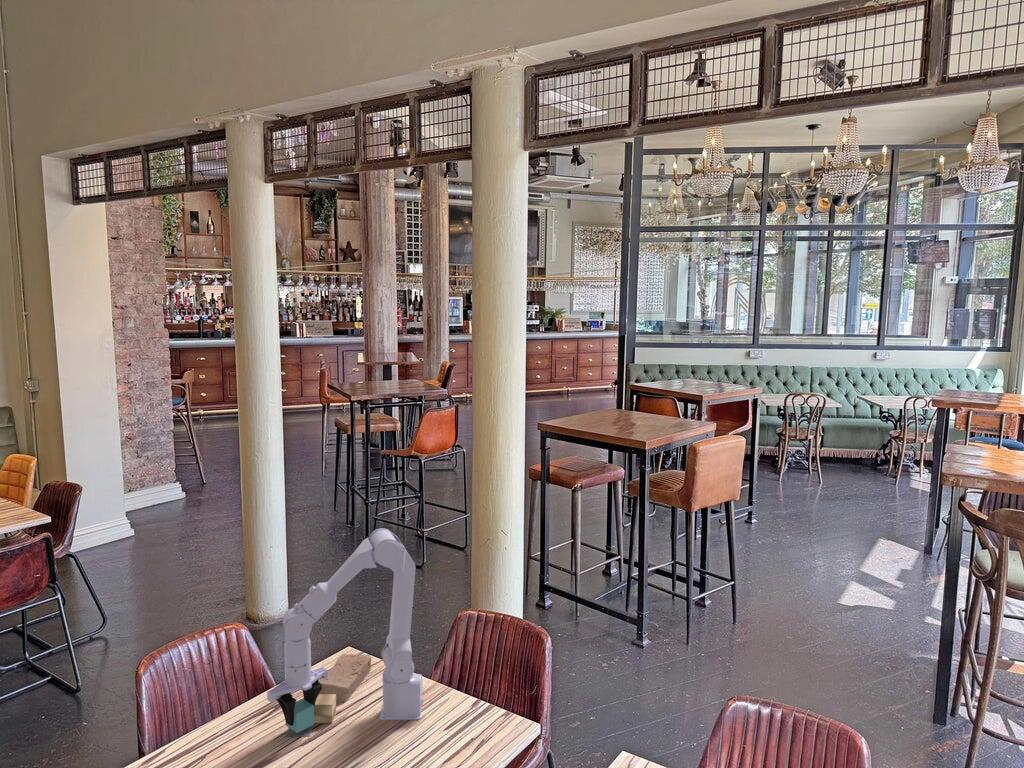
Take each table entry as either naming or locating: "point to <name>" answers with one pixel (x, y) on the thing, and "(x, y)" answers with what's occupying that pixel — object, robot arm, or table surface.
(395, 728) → the table surface
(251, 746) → the table surface
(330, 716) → the beech block
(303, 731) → the plate
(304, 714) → the teal block
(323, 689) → the brick
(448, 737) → the table surface
